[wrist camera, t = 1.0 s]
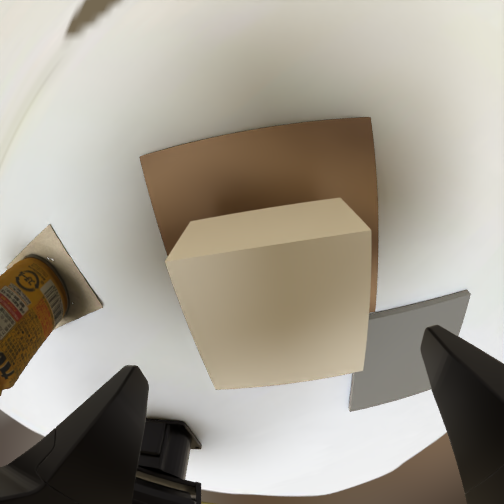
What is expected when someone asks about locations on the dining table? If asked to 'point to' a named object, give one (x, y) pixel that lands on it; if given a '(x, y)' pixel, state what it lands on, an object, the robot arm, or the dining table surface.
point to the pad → (402, 350)
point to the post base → (266, 175)
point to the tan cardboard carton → (276, 292)
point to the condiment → (38, 302)
